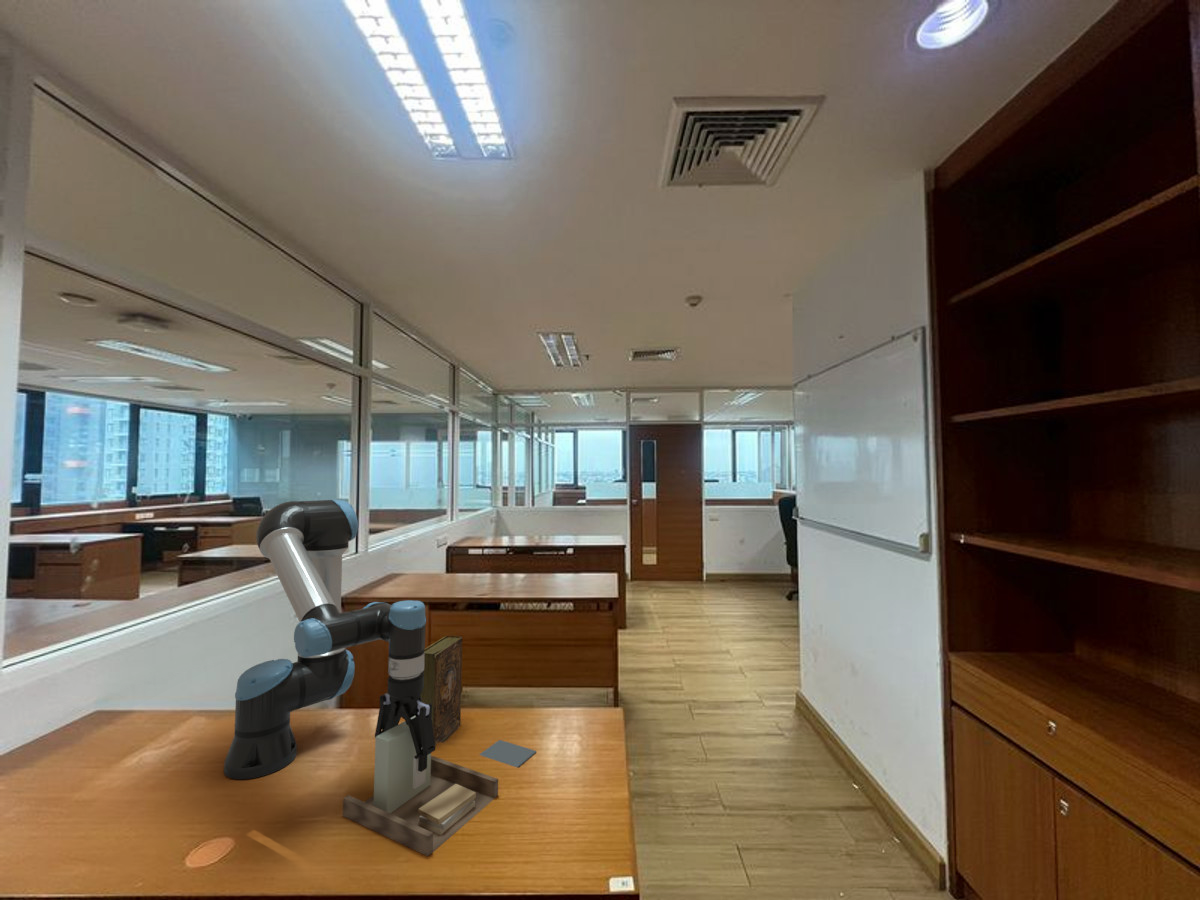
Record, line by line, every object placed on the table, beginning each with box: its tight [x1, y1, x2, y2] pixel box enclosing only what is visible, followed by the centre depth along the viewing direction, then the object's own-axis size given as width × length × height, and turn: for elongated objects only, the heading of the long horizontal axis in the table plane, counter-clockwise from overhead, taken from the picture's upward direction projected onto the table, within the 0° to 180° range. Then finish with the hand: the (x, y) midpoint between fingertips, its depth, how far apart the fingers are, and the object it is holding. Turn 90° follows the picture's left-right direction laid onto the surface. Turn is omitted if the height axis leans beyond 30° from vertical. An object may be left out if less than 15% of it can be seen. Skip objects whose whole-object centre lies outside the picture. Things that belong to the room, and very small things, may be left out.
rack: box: [342, 755, 499, 857], centre depth 109 cm, size 24×20×5 cm
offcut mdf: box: [419, 799, 474, 830], centre depth 106 cm, size 6×10×1 cm, turn 158°
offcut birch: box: [418, 801, 475, 835], centre depth 106 cm, size 6×10×1 cm, turn 153°
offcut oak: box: [418, 784, 476, 825], centre depth 106 cm, size 6×10×1 cm, turn 149°
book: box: [415, 635, 463, 747], centre depth 141 cm, size 16×6×25 cm, turn 168°
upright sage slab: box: [373, 716, 432, 813], centre depth 112 cm, size 4×12×15 cm, turn 153°
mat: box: [479, 739, 537, 769], centre depth 128 cm, size 12×18×1 cm, turn 153°
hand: (403, 778), depth 112 cm, fingers open, 9 cm apart
